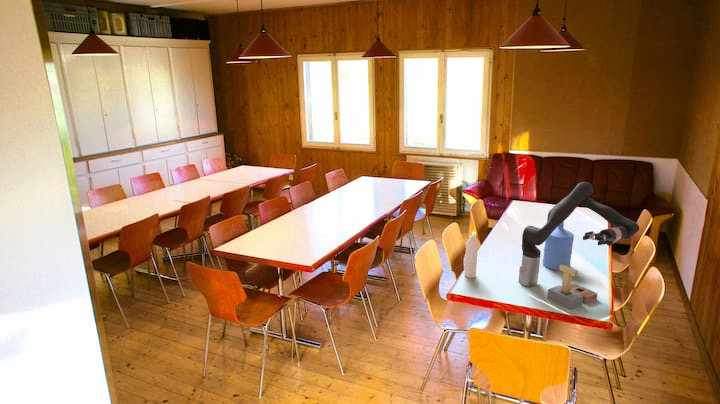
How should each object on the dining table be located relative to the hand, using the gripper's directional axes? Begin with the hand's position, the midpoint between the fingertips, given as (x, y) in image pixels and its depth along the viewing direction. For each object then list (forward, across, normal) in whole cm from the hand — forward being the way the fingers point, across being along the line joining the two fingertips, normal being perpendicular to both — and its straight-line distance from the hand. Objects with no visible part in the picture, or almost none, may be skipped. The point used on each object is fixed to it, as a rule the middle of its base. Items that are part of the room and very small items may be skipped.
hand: (590, 240), depth 247 cm
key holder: (+18, +2, +30) cm, 35 cm away
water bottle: (+36, -48, +30) cm, 67 cm away
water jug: (-18, -32, +30) cm, 48 cm away
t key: (+18, +2, +29) cm, 34 cm away
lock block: (+7, +2, +30) cm, 31 cm away
